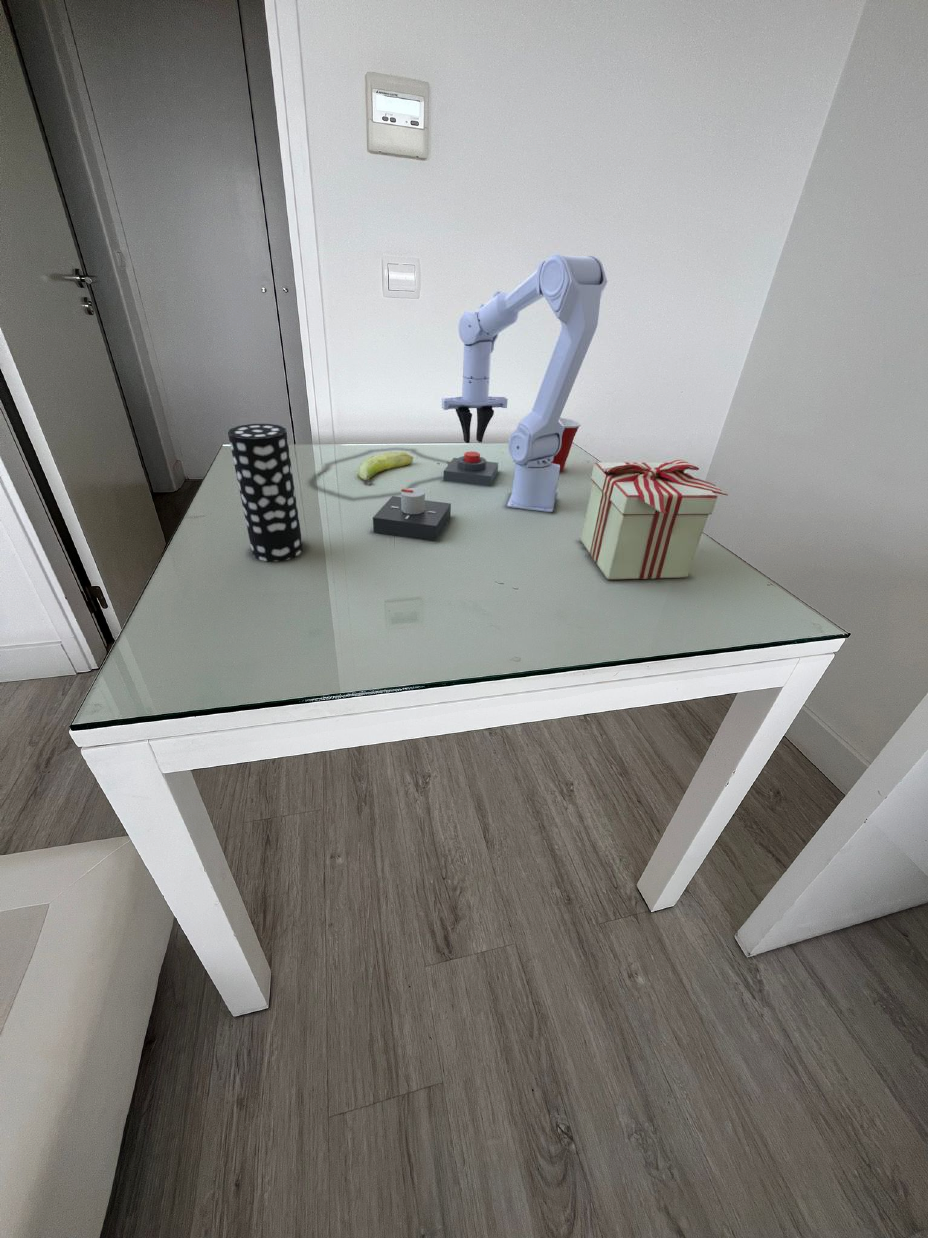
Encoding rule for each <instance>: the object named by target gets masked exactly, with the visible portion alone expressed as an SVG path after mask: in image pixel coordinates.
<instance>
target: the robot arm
mask: <svg viewBox="0 0 928 1238" xmlns="http://www.w3.org/2000/svg"><path fill="white" fill-rule="evenodd" d="M607 285H608V279H607V276H606V272H605V268H604V265H603V262H602V261H601V259H599V258H598V257H596V256H595V255H588V256H580V255H579V256H578V255H563V254H560V253H554V254H551V255H549V256H548V257H547V258H546V260H543V261H541V262H539V263H538V266H537V269H536V270H535V271H534V272H533V273H531V274H530V275H529V276H528V277H526V279H525V280H524V281H523V282H521V283H520V284H519V285H518V286H516V287H515V289H513V290H512V291H511V292H508V291H502V290H501V291H500V290H499V291H498V290H497V291H495V292H494V293H493V294H492V297H493V298H491V299H490V300H489V301H487V302H486V303H484V304H483V303H482V304H480V305H479V306H478V308H477V310H476V311H474V312H473V311H471V310H469V311H468V310H467V311H465V312H464V313H463V314H461V315H462V316H461V317H460V319H459V322H458V335H459V338H460V340H461V342H462V343H463V363H462V364H463V365H462V390H461V391H462V393H461V396H454V397H447V398H445V397H444V398H441V409H442V410H443V411H448V410H455V413H456V415H457V418H458V420H459V422H460V423H459V424H460V426H461V431H462V436H463V441H464V442H465V443H466V444H470V442H471V440H470V439H471V423H472V419H473V413H472V412H471V409H476V434H475V435H476V436H475V437H476V439H475V440H476V441H477V442H478V443H483V439H484V436H485V433H486V430H487V428H488V425H489V423H490V421H491V420H492V418H493V417H494V415H495V410H494V409H493V408H502V409H507V408H508V398H507V397H505V396H489V395H490V393H489V392H490V380H491V379H490V376H491V360H492V353H493V351H494V350H495V348H494V347H495V344H496V341H497V339H498V337H499V334H500V333H502V332H503V331H504V330H506V329H508V328H509V327H511V326H512V325H514V324H515V323H516V322H517V321H518V320H519V317H520V312H521V311H523V310H524V309H526V308H527V307H529V306H531V305H534V304H535V303H536V302H538V301H540V300H541V299H543V298H545V301H546V303H548V305H549V307H550V309H551V311H552V312H553V314H554V315H555V317H556V318H557V320H559V322H560V324H561V328H560V332H559V335H558V336H557V337H558V338H557V340H556V343H555V346H554V349H553V351H552V354H551V357H550V359H549V362H548V365H547V367H546V370H545V373H544V375H543V379H542V382H541V384H540V387H539V390H538V392H537V395H536V397H535V401H534V403H533V405H532V409H531V410H530V412H529V413H528V414H526V415H525V416H524V417H523V418H522V419H521V420H520V421H519V422H518V424H517V427H516V428H515V430H514V431H513V432H512V433H511V435H510V436H509V439H508V444H507V445H508V452H509V455H510V457H511V459H512V462H513V463H514V472H513V481H512V489H511V490H512V492H511V495H510V497H509V499H508V502H507V505H506V506H507V507H508V508H514V509H522V510H528V511H529V510H530V511H537V512H544V513H553V512H554V507H555V503H556V501H557V499H558V495H559V493H558V492H559V491H558V485H559V478H560V472H559V471H560V465H558V464H553V463H551V462H553V458H554V456H555V455H556V454H557V453H558V452H559V451H560V448H561V442H562V434H563V431H564V429H565V428H564V426H563V424H562V423H561V421H560V420H559V418H561V416H562V413H563V411H564V408H565V406H566V404H567V401H568V399H569V397H570V394H571V392H572V390H573V387H574V384H575V382H576V379H577V376H578V374H579V372H580V370H581V367H582V365H583V363H584V360H585V358H586V356H587V353H588V350H589V348H590V346H591V343H592V340H593V338H594V335H595V333H596V331H597V328H598V324H599V317H600V307H601V306H600V305H601V299H602V297H603V294H604V292H605V289H606V287H607Z"/></svg>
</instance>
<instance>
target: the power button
mask: <svg viewBox="0 0 928 1238" xmlns="http://www.w3.org/2000/svg"><path fill="white" fill-rule="evenodd" d="M463 456H464V461H465V462H469V463H478V462H480V457H481V454H480V452H477V451H466V452H464V455H463Z"/></svg>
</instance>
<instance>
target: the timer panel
mask: <svg viewBox="0 0 928 1238" xmlns="http://www.w3.org/2000/svg"><path fill="white" fill-rule="evenodd" d="M451 512H452V503H450V502H442V501H435V500H426V499H425V511H424V512H423V513H420V514H406V513H404V512H402V510H401V496H395V495H391V497H390V498H389V499H388V500H387V502H385V504H383V505H382V507H381V508H380V509H379V510H378V511H377V512H376V514H374V516H372V526H373V527H372V528H373V533H375V534H383V535H388V536H396V537H404V538H410V539H411V538H412V539H417V540H426V541H431V542H432V541H433V542H437V540H438V539H439V537H440V536H441V534H442V532H443V531H444V529H445V528H446V526H447V524H448V522H450V519H451V517H452V516H451V514H452V513H451Z"/></svg>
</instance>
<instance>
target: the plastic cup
mask: <svg viewBox="0 0 928 1238" xmlns="http://www.w3.org/2000/svg"><path fill="white" fill-rule="evenodd" d="M559 420H560V421H561V423H562V424H563V426H564V428H565V429H564V431H563V434H562V442H561V448H560V451H559V452H558V453H557V454H556V455H555V456H554V458H553V462H551V463H553V464H558V465H560V471H559V473H562V472H563V471H564V469H565V466H566V463H567V459H568V458H569V454H570V451H571V448H572V446H573V443H574V439H575V437H576V434H577V432H578V430H579V428H580V427H581V425H582V423H581V422H580V421H578V420H575V419H570V418H565V417H560V418H559Z"/></svg>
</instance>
